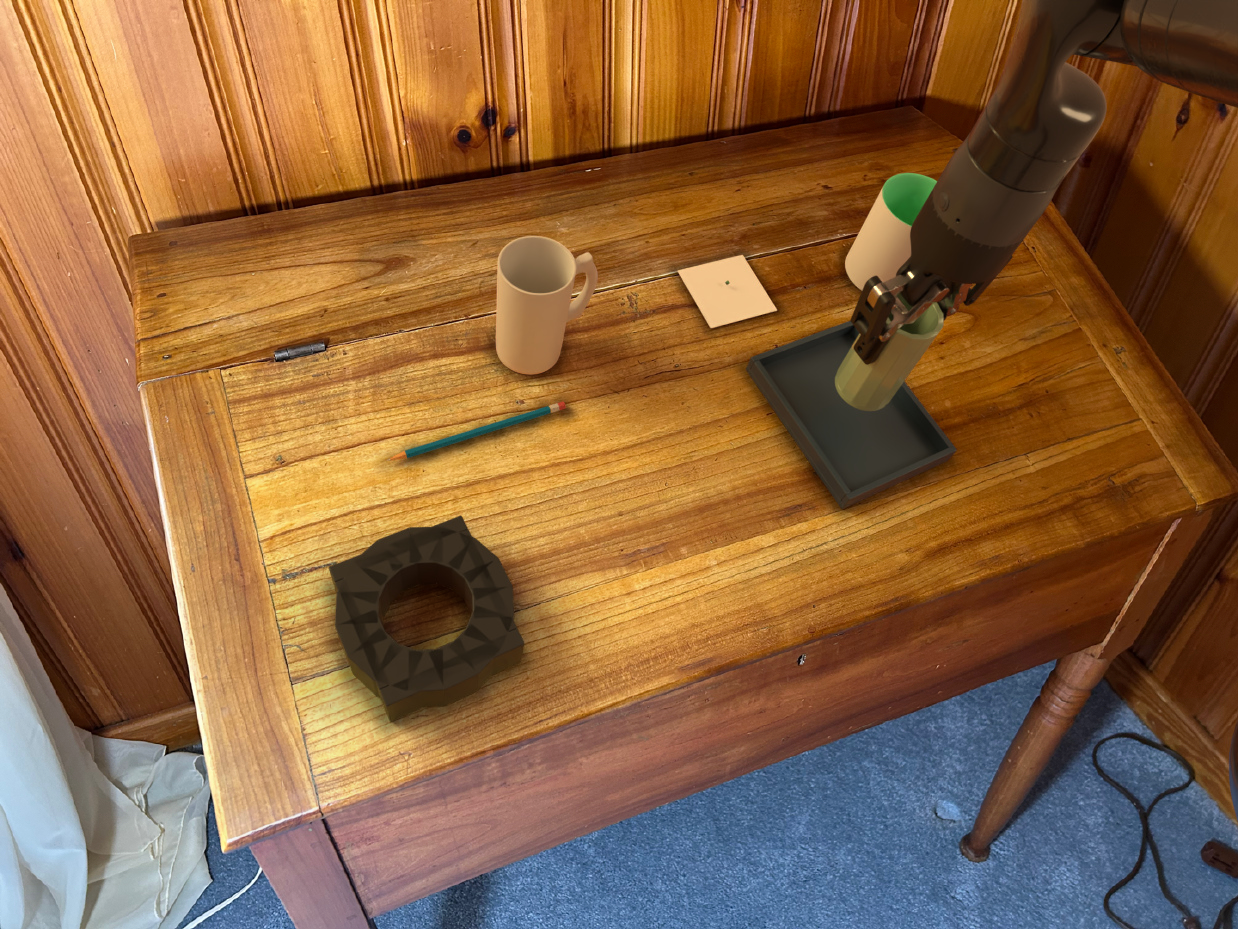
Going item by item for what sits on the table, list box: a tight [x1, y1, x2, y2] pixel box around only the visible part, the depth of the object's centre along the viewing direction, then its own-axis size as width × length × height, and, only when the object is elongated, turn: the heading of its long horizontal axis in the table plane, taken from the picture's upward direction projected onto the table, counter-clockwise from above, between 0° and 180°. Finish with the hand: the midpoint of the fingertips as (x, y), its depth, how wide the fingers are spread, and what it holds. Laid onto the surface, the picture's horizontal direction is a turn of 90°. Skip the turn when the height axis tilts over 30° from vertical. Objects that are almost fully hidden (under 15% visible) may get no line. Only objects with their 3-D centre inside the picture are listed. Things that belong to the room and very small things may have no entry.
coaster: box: [677, 254, 778, 329], centre depth 97 cm, size 8×8×1 cm
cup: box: [835, 293, 945, 411], centre depth 82 cm, size 6×6×11 cm
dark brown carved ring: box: [328, 515, 525, 723], centre depth 72 cm, size 13×13×4 cm
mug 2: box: [844, 172, 938, 291], centre depth 98 cm, size 12×8×10 cm
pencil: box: [386, 401, 567, 462], centre depth 83 cm, size 1×17×1 cm, turn 116°
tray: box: [745, 320, 958, 510], centre depth 90 cm, size 17×13×2 cm
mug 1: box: [495, 235, 599, 375], centre depth 85 cm, size 10×7×12 cm, turn 121°
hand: (891, 344), depth 81 cm, fingers closed on cup, 5 cm apart
